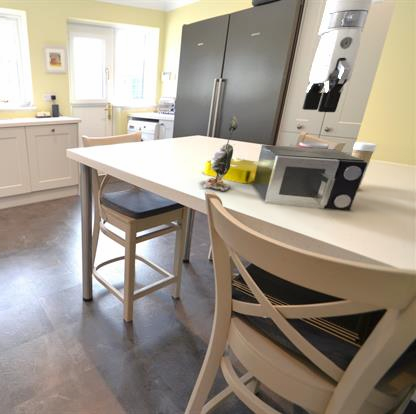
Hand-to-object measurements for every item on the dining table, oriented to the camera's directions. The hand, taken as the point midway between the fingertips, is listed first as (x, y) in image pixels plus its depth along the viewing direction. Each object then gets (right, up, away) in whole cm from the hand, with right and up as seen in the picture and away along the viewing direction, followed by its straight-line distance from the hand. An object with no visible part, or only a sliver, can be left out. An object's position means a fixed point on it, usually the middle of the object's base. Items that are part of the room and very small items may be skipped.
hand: (317, 110), depth 66 cm
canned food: (+17, -13, +29) cm, 36 cm away
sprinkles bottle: (+22, -17, +17) cm, 33 cm away
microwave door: (-4, -23, +1) cm, 23 cm away
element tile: (-6, -12, +29) cm, 32 cm away
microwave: (+1, -20, +9) cm, 22 cm away
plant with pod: (-17, -17, +17) cm, 29 cm away
